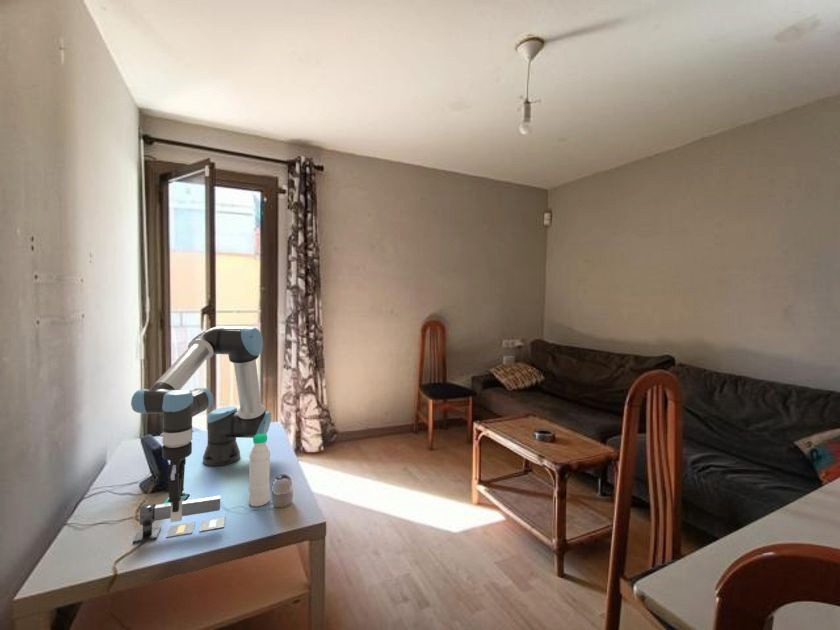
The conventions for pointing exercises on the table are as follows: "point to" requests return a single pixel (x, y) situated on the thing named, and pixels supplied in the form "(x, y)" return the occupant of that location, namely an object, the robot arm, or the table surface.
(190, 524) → the label plate ochre
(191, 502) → the rail
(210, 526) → the label plate dark grey
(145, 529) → the dark grey square block
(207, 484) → the table surface
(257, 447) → the water bottle
